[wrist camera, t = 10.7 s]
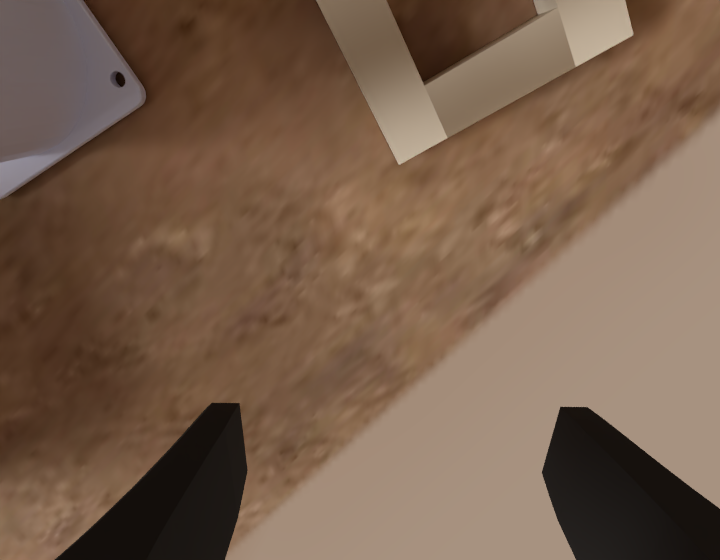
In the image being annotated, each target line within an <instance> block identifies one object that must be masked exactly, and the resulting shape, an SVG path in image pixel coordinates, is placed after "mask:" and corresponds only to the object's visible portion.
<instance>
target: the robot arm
mask: <svg viewBox="0 0 720 560" xmlns="http://www.w3.org/2000/svg"><path fill="white" fill-rule="evenodd" d="M118 72H120V73H122V74H123V75H124V78H125V85H124V86H123V87H121V86H120V85H119V84H117V81H116V74H117V73H118ZM145 100H146V91H145V89H144V87H143V85H142V84H141V82H140V81H139V79H138V78H137V77H136V75H135V74H134V72H133V71H132V69H131V68H130V67H129V65H128V64H127V62H126V61H125V59H124V58H123V57H122V55H121V54H120V52H119V51H118V49H117V48H116V47H115V45H114V44H113V42H112V41H111V39H110V38H109V37H108V35H107V34H106V32H105V31H104V29H103V28H102V27H101V25H100V24H99V22H98V21H97V19H96V18H95V17H94V15H93V14H92V12H91V11H90V9H89V8H88V6H87V5H86V4H85V2H84V1H83V0H0V199H3V198H5V197H7V196H8V195H10V194H11V193H13V192H14V191H16V190H17V189H19V188H20V187H22V186H23V185H25V184H26V183H28V182H29V181H31V180H32V179H34V178H35V177H37V176H38V175H40V174H41V173H43V172H44V171H45V170H47V169H48V168H50V167H51V166H53V165H54V164H56V163H57V162H59V161H60V160H62V159H63V158H65V157H66V156H68V155H69V154H71V153H72V152H74V151H75V150H77V149H78V148H80V147H81V146H83V145H84V144H86V143H87V142H89V141H90V140H92V139H93V138H95V137H96V136H98V135H99V134H100V133H102V132H103V131H105V130H106V129H108V128H109V127H111V126H112V125H114V124H115V123H117V122H118V121H120V120H121V119H123V118H124V117H126V116H127V115H129V114H130V113H132V112H133V111H135V110H136V109H138V108H139V107H141V106H142V105H143V104H144V103H145ZM542 474H543V477H544V480H545V484H546V487H547V490H548V493H549V496H550V499H551V502H552V505H553V507H554V511H555V513H556V516H557V519H558V521H559V524H560V526H561V528H562V530H563V532H564V534H565V537H566V539H567V541H568V543H569V545H570V547H571V549H572V552H573V554H574V556H575V558H576V560H720V509H719V508H718V507H717V506H715V505H714V504H713V503H711V502H710V501H709V500H707V499H706V498H704V497H703V496H702V495H700V494H699V493H698V492H696V491H695V490H694V489H692V488H691V487H690V486H688V485H687V484H686V483H684V482H683V481H682V480H681V479H679V478H678V477H677V476H675V475H674V474H673V473H671V472H670V471H669V470H668V469H666V468H665V467H664V466H662V465H661V464H660V463H659V462H657V461H656V460H655V459H653V458H652V457H651V456H650V455H648V454H647V453H646V452H645V451H643V450H642V449H640V448H639V447H638V446H637V445H636V444H634V443H633V442H632V441H631V440H629V439H628V438H627V437H626V436H624V435H623V434H622V433H621V432H619V431H618V430H617V429H615V428H614V427H613V426H612V425H610V424H609V423H608V422H606V421H605V420H604V419H603V418H601V417H600V416H599V415H597V414H596V413H594V412H593V411H592V410H590V409H589V408H588V407H560V410H559V414H558V417H557V421H556V424H555V428H554V432H553V435H552V439H551V442H550V446H549V449H548V453H547V456H546V460H545V463H544V467H543V471H542ZM246 475H247V463H246V454H245V446H244V438H243V430H242V421H241V413H240V405H239V403H211V404H210V405H209V406H208V407H207V408H206V409H205V410H204V411H203V412H202V413H201V415H200V416H199V417H198V418H197V419H196V420H195V421H194V422H193V424H192V425H191V426H190V427H189V428H188V429H187V430H186V431H185V432H184V434H183V435H182V436H181V437H180V438H179V439H178V440H177V441H176V442H175V443H174V445H173V446H172V447H171V448H170V449H169V450H168V451H167V452H166V453H165V454H164V455H163V456H162V457H161V458H160V460H159V461H158V462H157V463H156V464H155V465H154V466H153V467H152V468H151V469H150V470H149V471H148V472H147V473H146V474H145V475H144V476H143V477H142V478H141V479H140V480H139V481H138V482H137V483H136V484H135V486H134V487H133V488H132V489H131V490H129V491H128V492H127V493H126V494H125V495H124V496H123V497H122V498H121V499H120V500H119V501H118V502H117V503H116V504H115V505H114V506H113V507H112V508H111V509H110V510H109V511H108V512H107V513H106V514H105V515H104V516H103V517H101V518H100V519H99V520H98V521H97V522H96V523H95V524H94V525H93V526H92V527H91V528H90V529H89V530H88V531H87V532H85V533H84V534H83V535H82V536H81V537H80V538H79V539H78V540H77V541H76V542H74V543H73V544H72V545H71V546H70V547H69V548H68V549H66V550H65V551H64V552H63V553H62V554H61V555H60V556H58V557H57V558H56V559H55V560H225V557H226V554H227V551H228V548H229V544H230V541H231V538H232V535H233V532H234V528H235V525H236V522H237V518H238V514H239V510H240V505H241V500H242V495H243V490H244V485H245V480H246Z"/></svg>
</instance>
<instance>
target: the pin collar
mask: <svg viewBox="0 0 720 560" xmlns="http://www.w3.org/2000/svg"><path fill="white" fill-rule="evenodd" d="M316 1H317V3H318V5H319V7H320V9H321V11H322V13H323V15H324V17H325V19H326V21H327V23H328V25H329V27H330V29H331V31H332V33H333V35H334V37H335V39H336V41H337V43H338V45H339V47H340V49H341V51H342V53H343V55H344V57H345V59H346V61H347V63H348V65H349V67H350V69H351V71H352V73H353V75H354V77H355V79H356V81H357V83H358V85H359V87H360V89H361V91H362V93H363V95H364V97H365V99H366V101H367V103H368V105H369V107H370V109H371V111H372V113H373V115H374V117H375V119H376V121H377V123H378V125H379V127H380V129H381V131H382V133H383V135H384V137H385V138H386V140H387V142H388V144H389V146H390V148H391V150H392V152H393V154H394V156H395V158H396V160H397V162H398V164H399V165H400V164H402V163H403V162H405V161H407V160H409V159H411V158H413V157H414V156H416V155H418V154H420V153H422V152H423V151H425V150H427V149H429V148H431V147H432V146H434V145H436V144H438V143H440V142H441V141H443V140H445V139H447V138H449V137H450V136H452V135H454V134H456V133H458V132H459V131H461V130H463V129H465V128H467V127H468V126H470V125H472V124H474V123H476V122H478V121H479V120H481V119H483V118H485V117H487V116H488V115H490V114H492V113H494V112H496V111H497V110H499V109H501V108H503V107H505V106H506V105H508V104H510V103H512V102H514V101H515V100H517V99H519V98H521V97H523V96H524V95H526V94H528V93H530V92H532V91H533V90H535V89H537V88H539V87H541V86H543V85H544V84H546V83H548V82H550V81H552V80H553V79H555V78H557V77H559V76H561V75H562V74H564V73H566V72H568V71H570V70H571V69H573V68H575V67H577V66H579V65H580V64H582V63H584V62H586V61H588V60H589V59H591V58H593V57H595V56H597V55H598V54H600V53H602V52H604V51H606V50H608V49H609V48H611V47H613V46H615V45H617V44H618V43H620V42H622V41H624V40H626V39H627V38H629V37H631V36H633V35H634V34H633V30H632V26H631V22H630V18H629V14H628V10H627V6H626V1H625V0H533V1H534V4H535V7H536V10H537V14H538V15H537V16H535V17H533V18H532V19H530V20H528V21H527V22H525V23H523V24H521V25H520V26H518V27H516V28H515V29H513V30H511V31H510V32H508V33H506V34H504V35H503V36H501V37H499V38H498V39H496V40H494V41H493V42H491V43H489V44H487V45H486V46H484V47H482V48H481V49H479V50H477V51H476V52H474V53H472V54H471V55H469V56H467V57H465V58H464V59H462V60H460V61H459V62H457V63H455V64H454V65H452V66H450V67H448V68H447V69H445V70H443V71H442V72H440V73H438V74H437V75H435V76H433V77H431V78H430V79H428V80H426V81H425V82H422V79H421V77H420V75H419V73H418V70H417V68H416V66H415V64H414V61H413V59H412V57H411V55H410V52H409V50H408V48H407V46H406V43H405V41H404V39H403V37H402V34H401V32H400V30H399V28H398V25H397V23H396V21H395V18H394V16H393V14H392V12H391V9H390V7H389V5H388V3H387V0H316Z"/></svg>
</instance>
